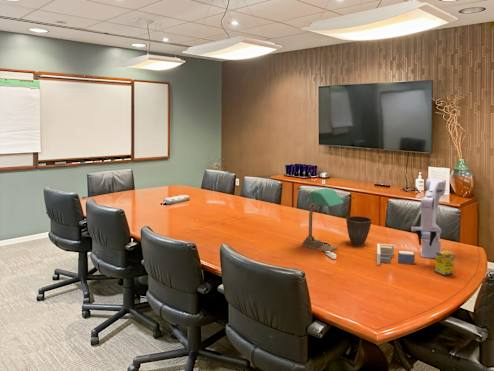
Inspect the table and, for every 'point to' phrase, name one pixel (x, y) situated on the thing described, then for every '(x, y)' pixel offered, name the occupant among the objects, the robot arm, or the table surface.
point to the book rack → (384, 253)
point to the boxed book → (406, 257)
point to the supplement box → (444, 262)
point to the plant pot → (358, 229)
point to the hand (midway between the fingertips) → (425, 245)
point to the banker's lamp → (316, 197)
